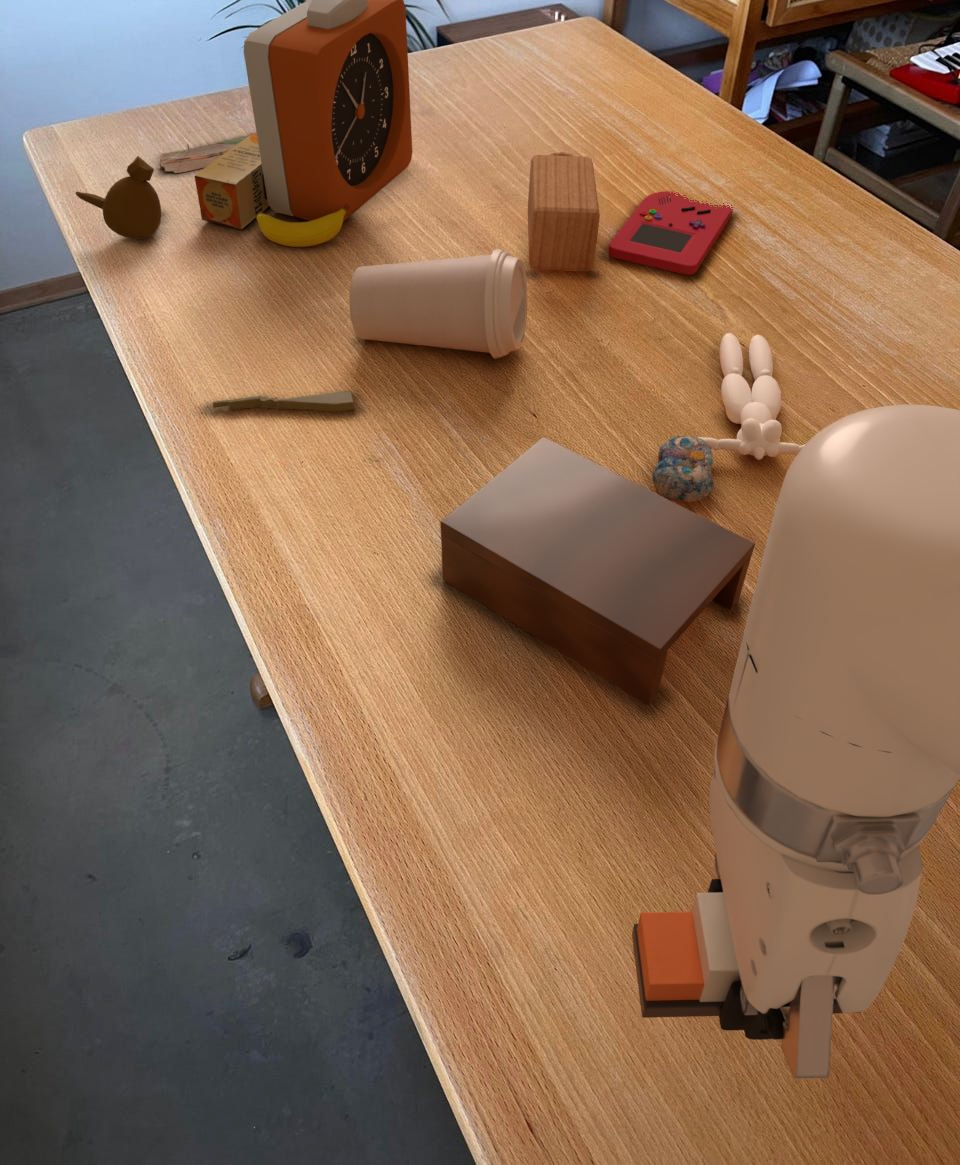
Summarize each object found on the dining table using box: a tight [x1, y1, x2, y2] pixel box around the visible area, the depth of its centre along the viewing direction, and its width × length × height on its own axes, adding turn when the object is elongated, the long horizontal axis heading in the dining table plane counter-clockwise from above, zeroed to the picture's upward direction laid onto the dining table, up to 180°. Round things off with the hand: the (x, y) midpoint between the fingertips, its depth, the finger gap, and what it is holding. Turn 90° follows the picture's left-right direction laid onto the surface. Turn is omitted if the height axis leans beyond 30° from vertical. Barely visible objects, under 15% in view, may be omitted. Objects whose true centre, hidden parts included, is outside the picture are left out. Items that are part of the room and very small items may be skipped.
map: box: [159, 136, 247, 174], centre depth 122 cm, size 5×20×1 cm, turn 121°
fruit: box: [255, 204, 350, 248], centre depth 106 cm, size 10×2×5 cm
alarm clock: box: [243, 0, 413, 223], centre depth 107 cm, size 18×9×21 cm, turn 154°
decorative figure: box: [697, 332, 806, 461], centre depth 87 cm, size 4×12×18 cm
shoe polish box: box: [194, 133, 270, 230], centre depth 111 cm, size 5×5×12 cm
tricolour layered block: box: [631, 892, 861, 1019], centre depth 45 cm, size 10×4×5 cm, turn 91°
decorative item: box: [527, 151, 601, 272], centre depth 107 cm, size 7×7×20 cm
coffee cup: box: [348, 248, 528, 359], centre depth 92 cm, size 10×10×15 cm
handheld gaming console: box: [608, 190, 734, 276], centre depth 108 cm, size 10×1×15 cm
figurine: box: [75, 155, 162, 240], centre depth 106 cm, size 8×8×6 cm
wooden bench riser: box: [439, 436, 756, 707], centre depth 71 cm, size 18×12×6 cm, turn 51°
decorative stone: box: [651, 434, 715, 503], centre depth 80 cm, size 6×4×5 cm
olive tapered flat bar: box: [212, 390, 355, 413], centre depth 87 cm, size 12×2×1 cm, turn 93°
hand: (744, 969), depth 47 cm, fingers closed on tricolour layered block, 4 cm apart
